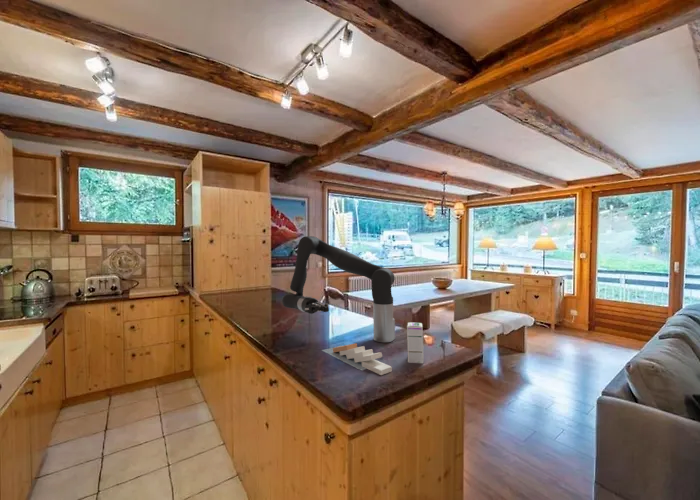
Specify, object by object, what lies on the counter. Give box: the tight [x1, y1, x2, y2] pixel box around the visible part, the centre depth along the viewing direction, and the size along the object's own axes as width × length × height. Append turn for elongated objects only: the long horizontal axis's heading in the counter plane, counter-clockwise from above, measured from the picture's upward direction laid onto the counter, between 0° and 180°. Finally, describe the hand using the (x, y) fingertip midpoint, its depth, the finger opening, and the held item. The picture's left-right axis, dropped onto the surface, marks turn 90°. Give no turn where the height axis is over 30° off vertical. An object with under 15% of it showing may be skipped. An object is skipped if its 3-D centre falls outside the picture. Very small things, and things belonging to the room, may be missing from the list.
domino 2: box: [340, 345, 366, 356], centre depth 117 cm, size 5×2×10 cm
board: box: [321, 345, 368, 371], centre depth 118 cm, size 10×26×1 cm, turn 37°
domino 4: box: [354, 351, 383, 363], centre depth 109 cm, size 5×2×10 cm
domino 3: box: [346, 348, 374, 359], centre depth 113 cm, size 5×2×10 cm
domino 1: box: [332, 343, 358, 352], centre depth 120 cm, size 5×2×10 cm
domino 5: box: [362, 359, 393, 376], centre depth 106 cm, size 5×2×10 cm
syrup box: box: [406, 321, 425, 364], centre depth 113 cm, size 6×6×14 cm
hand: (327, 309), depth 134 cm, fingers closed
